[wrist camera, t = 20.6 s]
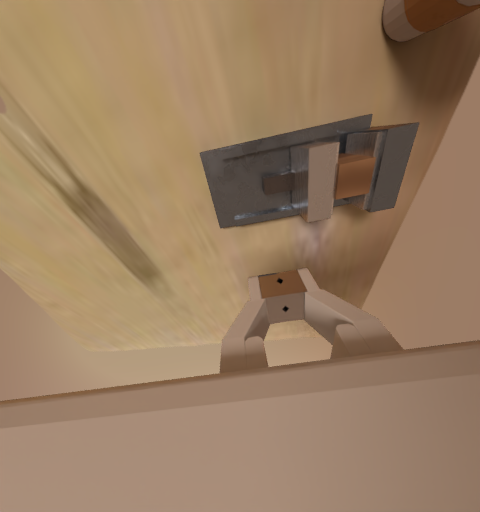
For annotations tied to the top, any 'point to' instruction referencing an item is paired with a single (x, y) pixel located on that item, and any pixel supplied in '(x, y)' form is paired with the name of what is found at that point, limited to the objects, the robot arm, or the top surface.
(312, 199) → the jaw
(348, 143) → the vise
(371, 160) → the block
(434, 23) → the coffee cup
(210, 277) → the top surface
